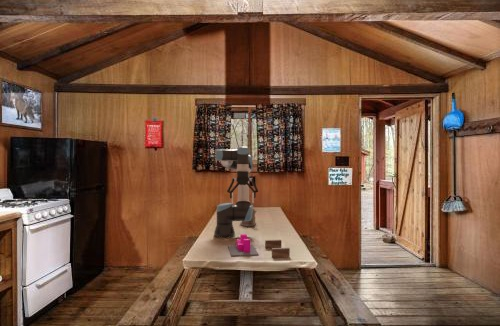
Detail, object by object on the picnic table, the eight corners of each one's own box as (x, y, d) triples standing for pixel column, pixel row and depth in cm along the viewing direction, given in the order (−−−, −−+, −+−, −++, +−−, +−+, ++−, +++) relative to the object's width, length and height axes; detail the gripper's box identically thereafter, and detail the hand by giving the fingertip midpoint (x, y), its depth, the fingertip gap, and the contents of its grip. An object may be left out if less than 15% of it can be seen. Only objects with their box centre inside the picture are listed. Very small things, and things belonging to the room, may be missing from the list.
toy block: (236, 246, 208) (236, 234, 207) (246, 245, 209) (246, 234, 209) (240, 252, 193) (240, 240, 193) (250, 252, 194) (250, 239, 194)
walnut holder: (265, 247, 207) (265, 240, 207) (280, 247, 208) (280, 239, 208) (272, 257, 186) (272, 249, 186) (289, 257, 187) (289, 248, 187)
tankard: (238, 223, 283) (238, 206, 283) (251, 222, 288) (251, 205, 288) (248, 228, 265) (248, 209, 265) (261, 227, 270) (262, 209, 270)
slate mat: (228, 246, 210) (228, 245, 210) (252, 245, 212) (252, 244, 212) (231, 256, 188) (231, 255, 188) (258, 255, 190) (258, 254, 190)
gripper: (224, 171, 206) (223, 204, 207) (262, 170, 210) (262, 203, 211) (223, 170, 213) (223, 202, 214) (260, 170, 217) (260, 201, 218)
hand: (242, 203), depth 213 cm, fingers open, 13 cm apart
